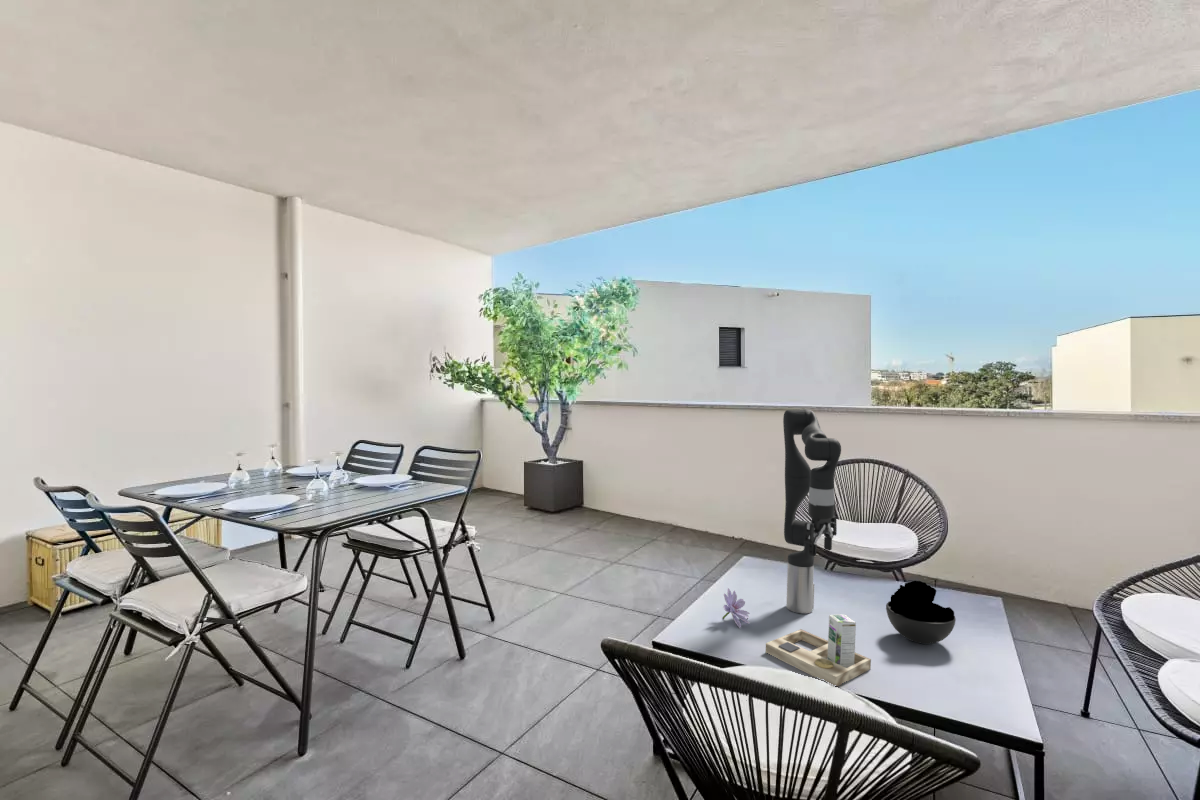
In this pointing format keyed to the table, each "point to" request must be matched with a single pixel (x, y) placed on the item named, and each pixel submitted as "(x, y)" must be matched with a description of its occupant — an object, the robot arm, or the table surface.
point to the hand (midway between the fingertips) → (820, 552)
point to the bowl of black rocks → (919, 614)
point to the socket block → (815, 658)
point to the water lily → (735, 608)
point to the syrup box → (841, 640)
